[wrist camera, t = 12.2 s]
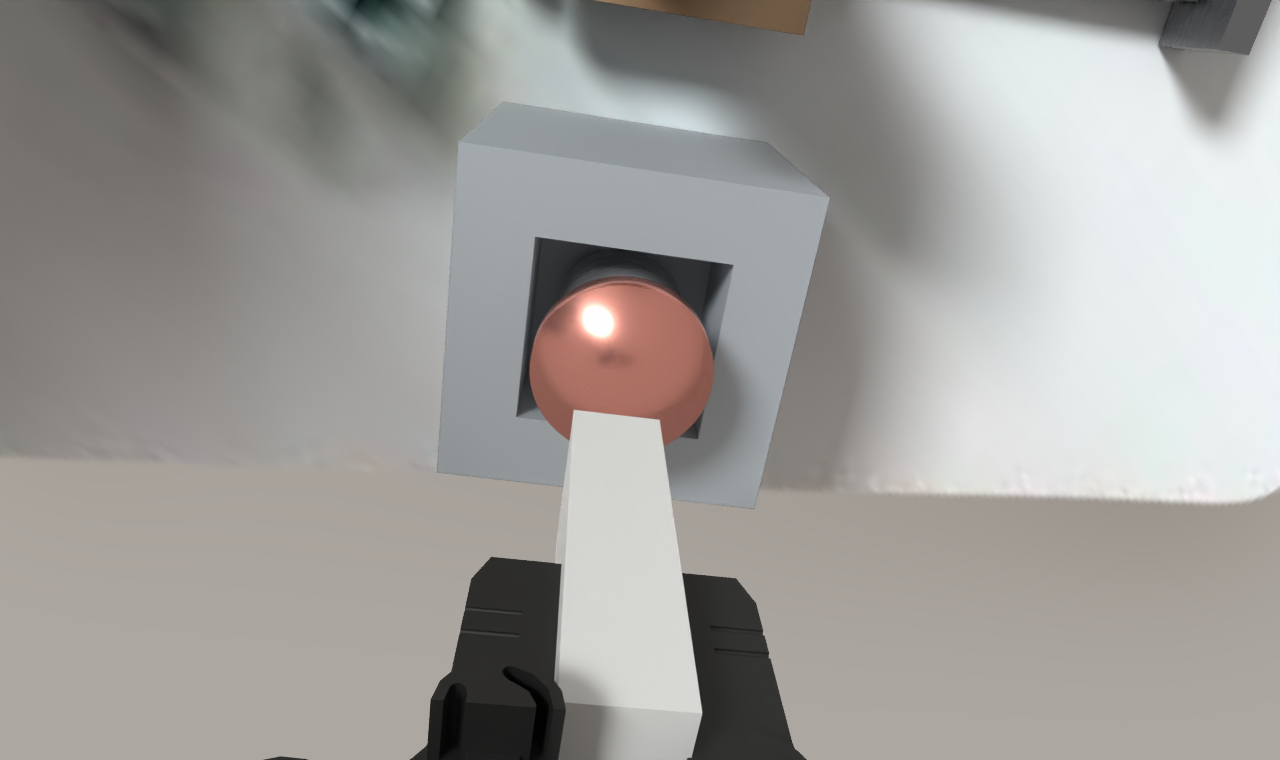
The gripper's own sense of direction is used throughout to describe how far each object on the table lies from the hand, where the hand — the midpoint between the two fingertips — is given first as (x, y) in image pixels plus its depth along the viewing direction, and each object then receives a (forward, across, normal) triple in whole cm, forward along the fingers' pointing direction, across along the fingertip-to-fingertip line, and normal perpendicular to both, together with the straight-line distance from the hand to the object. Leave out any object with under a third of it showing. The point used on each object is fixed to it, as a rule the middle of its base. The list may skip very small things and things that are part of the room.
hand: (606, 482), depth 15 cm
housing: (+17, +1, 0) cm, 17 cm away
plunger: (+9, 0, 0) cm, 9 cm away
